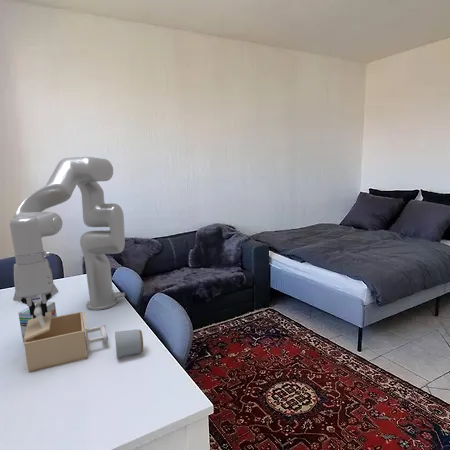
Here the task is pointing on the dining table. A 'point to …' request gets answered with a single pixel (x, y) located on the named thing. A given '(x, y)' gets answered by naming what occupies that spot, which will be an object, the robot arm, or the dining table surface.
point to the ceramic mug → (128, 342)
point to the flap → (38, 323)
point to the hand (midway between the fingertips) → (39, 315)
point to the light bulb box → (26, 316)
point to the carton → (61, 342)
